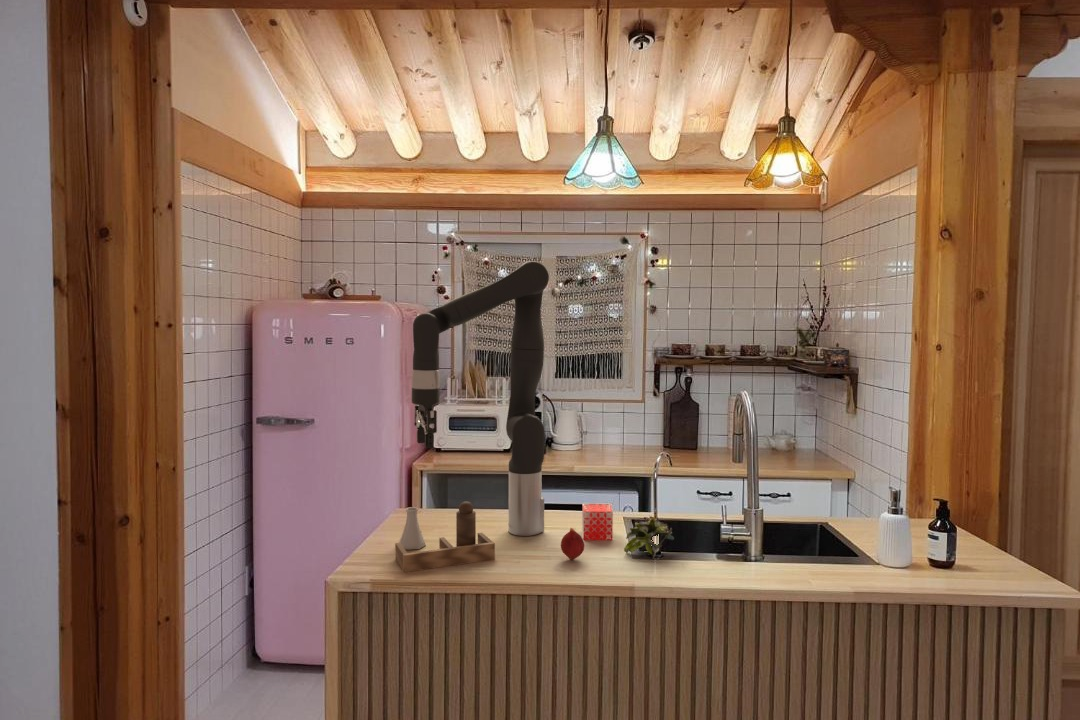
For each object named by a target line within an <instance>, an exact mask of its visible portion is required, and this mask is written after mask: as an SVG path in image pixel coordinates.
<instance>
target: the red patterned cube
mask: <svg viewBox="0 0 1080 720" xmlns="http://www.w3.org/2000/svg"><path fill="white" fill-rule="evenodd" d="M581 509H582V518H581V519H582V520H581V521H582V523H581V524H582V527H581V530H582V539H583V541H613V536H614V534H613V533H614V531H613V530H614V529H613V528H614V527H613V526H614V525H613V524H614V521H613V520H614V512H613V507H612V505H611V503H582V508H581Z"/></svg>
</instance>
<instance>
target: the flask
mask: <svg viewBox="0 0 1080 720" xmlns="http://www.w3.org/2000/svg"><path fill="white" fill-rule="evenodd" d="M405 511H406V520H405V523H404V524H405V525H404V529H403V531H402V534H401V535H400V540H399V542H398V543H401V544H402V546H403V547H404V549H405V550H406V551H408V550H410V551H411V550H420V549H422V548H424V547H426V542H425V541H426V540H425V539H424V536H423V534H422V531H421V527H420V525H419V521H418V511H419V509H418V507H414V506H412V507H411V506H410V507H405Z"/></svg>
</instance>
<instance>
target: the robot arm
mask: <svg viewBox="0 0 1080 720" xmlns="http://www.w3.org/2000/svg"><path fill="white" fill-rule="evenodd" d="M549 275H550V273H549V271H548V269H547V267H546V266H545V265H544V264H543V263H541V262H540V261H539V262H538V261H534V260H528V261H525V262H523V263H522V264H520V265H519V266H518V267H517V268H516V269H514V271H512V272H510V273H508V275H506V276H504V277H502V278H501V279H499V280H496V281H494V282H492V283H490V284H487V285H485V286H482V287H479V288H477V289H475V290H472V291H469V292H467V293H465V294H463V295H460V296H458V297H456V298H453V299H452V300H449V301H448V302H446V303H444V304H443V305H440V306H439V307H436V308H433V309H431V310H429V311H426V312H423V313H420V314H418V315H417V316H416V317H415V318H414V320H413V323H412V339H413V341H412V342H413V355H412V375H411V404H413V405H415V406H414V423H413V425H414V427H415V428H416V442H417V444H424V447H425V449H433V448H434V445H435V444H434V442H435V440H434V439H435V434H436V433H437V432H438V429H437V428H438V426H437V421H438V420H437V417H438V416H437V415H438V412H437V409H435V410H434V409H433V406H434V405H438V404H440V399H441V397H440V383H441V382H440V381H441V377H440V354H439V353H440V352H439V340H440V334H442V333H444V332H445V331H447V330H450V329H451V328H453V327H458V326H460V325H462V324H465V323H467V322H469V321H471V320H474V319H477V317H480V316H482V315H484V314H485V313H487V312H490V311H492V310H493V309H495V308H497V307H500V305H503V304H506V303H508V302H510V301H513V300H514V320H513V326H512V332H511V333H512V335H511V346H510V374H509V376H510V379H509V382H510V383H509V385H510V387H509V388H510V391H509V392H510V395H509V403H508V410H507V417H506V424H505V430H506V435H507V437H508V438H509V440H510V441H511V443H512V444H511V458H510V460H509V461H508V532H509V533H510V534H512V535H514V536H522V537H526V536H527V537H528V536H529V537H530V536H536V535H539V534H541V533H544V532H545V498H544V497H543V496H542V493H543V492H542V491H543V490H542V488H543V487H542V481H543V480H542V479H543V478H542V475H543V474H542V473H543V472H542V470H543V469H542V466H543V463H544V459H545V444H546V443H545V440H546V439H545V436H546V433H545V428H544V427H545V426H544V423H543V422H542V420H541V419H540V418H539V417H537V416H536V394H537V388H538V386H539V383H540V380H541V376H542V372H543V367H544V358H545V357H544V355H545V339H544V330H543V322H542V314H541V313H542V300H543V294H544V290H545V289H546V288H547V286H548V284H549V279H550V276H549Z"/></svg>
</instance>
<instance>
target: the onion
mask: <svg viewBox="0 0 1080 720" xmlns="http://www.w3.org/2000/svg"><path fill="white" fill-rule="evenodd" d="M584 541H585V540H583V536H581V535H580V533H579V532H577V531H576V530H575V529H574V528H573V527H570V529H569V531H567V533H566V534H564V535H563V537H562V539H561V542H560V550H561V552H562V553H563V554H564V555H565V556H566V557H567V558H568V559H569V560H571V561H574V560H575V559H576V558H579V557H580V556H581V555H582V554H583V553H584V550H585V542H584Z"/></svg>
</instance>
